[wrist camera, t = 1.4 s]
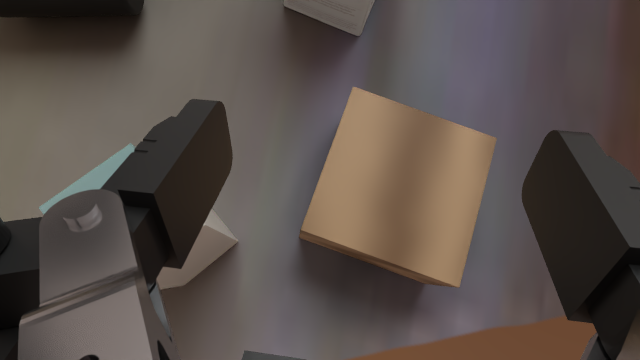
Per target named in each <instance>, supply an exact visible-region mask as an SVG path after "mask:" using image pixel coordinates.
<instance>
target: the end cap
mask: <svg viewBox="0 0 640 360" xmlns="http://www.w3.org/2000/svg"><path fill="white" fill-rule="evenodd" d="M143 4H144V0H0V17H51V16H111V15H137V14H139V13H140V12H141V10H142V8H143Z"/></svg>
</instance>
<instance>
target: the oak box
mask: <svg viewBox="0 0 640 360" xmlns="http://www.w3.org/2000/svg"><path fill="white" fill-rule="evenodd" d="M496 139H497V138H495V137H492V136H489V135H487V134H484V133H481V132H478V131H476V130H473V129H470V128H467V127H464V126H462V125H459V124H456V123H453V122H451V121H448V120H445V119H442V118H439V117H437V116H434V115H431V114H428V113H426V112H423V111H420V110H417V109H414V108H412V107H409V106H406V105H403V104H401V103H398V102H395V101H392V100H389V99H387V98H384V97H381V96H378V95H376V94H373V93H370V92H367V91H364V90H362V89H359V88H356V87H353V89H352V91H351V94H350V97H349V99H348V102H347V105H346V108H345V110H344V113H343V116H342V118H341V121H340V124H339V127H338V129H337V132H336V135H335V138H334V140H333V143H332V146H331V148H330V151H329V154H328V157H327V159H326V162H325V165H324V168H323V170H322V173H321V176H320V178H319V181H318V184H317V187H316V189H315V192H314V195H313V197H312V200H311V203H310V206H309V208H308V211H307V214H306V217H305V219H304V222H303V225H302V227H301V230H300V235H299V238H302V239H304V240H307V241H310V242H312V243H315V244H318V245H321V246H323V247H326V248H329V249H332V250H334V251H337V252H340V253H343V254H345V255H348V256H351V257H354V258H356V259H359V260H362V261H364V262H367V263H370V264H373V265H375V266H378V267H381V268H384V269H386V270H389V271H392V272H395V273H397V274H400V275H403V276H406V277H408V278H411V279H414V280H416V281H419V282H422V283H425V284H431V285H440V286H449V287H458V288H459V286H460V282H461V278H462V275H463V271H464V267H465V263H466V259H467V255H468V251H469V247H470V243H471V239H472V235H473V231H474V227H475V223H476V219H477V215H478V211H479V207H480V203H481V199H482V195H483V191H484V187H485V183H486V179H487V175H488V171H489V167H490V163H491V159H492V155H493V151H494V147H495V143H496Z"/></svg>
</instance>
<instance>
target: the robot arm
mask: <svg viewBox="0 0 640 360" xmlns="http://www.w3.org/2000/svg"><path fill="white" fill-rule="evenodd" d="M231 166H232V147H231V141H230V135H229V129H228V123H227V117H226V111H225V107H224V105H223V103H222V102H220V101H209V100H198V99H191V100H190V101H189V102H188V103H187V104H186V106H185V107H184V108H183V109H182V110H181V112H180V113H179V114H178V115H177V117H172V116H171V117H169V118H168V119H166V120H164V121H163V122H161V123H159V124H157V125H156V126H154V127H153V128H152V129H151V131H150V132H149V133H148V134H147V135H146V136H145V138H144V139H143V142H140V143H139V144H138V146H137V147H136V148H135V149H134V152H132V153H131V154H130V155H129V156H128V157H127V158H126V159H125V161H124V162H123V163H122V164H121V165H120V166H119V168H118V169H117V170H116V171H115V172H114V173H113V174H112V176H111V177H110V178H109V179H108V180H107V181H106V183H105V184H104V185H103V186H102V187H101V188H100V189H92V190H86V191H82V192H78V193H75V194H72V195H70V196H68V197H65V198H64V199H62V200H60V201H58V202H57V203H56V204H54V205H53V206H52V207H51V208H49V209H48V210H47V212H46V213H45V214H44V215H43V217H39V218H31V219H23V220H15V221H8V222H3V221H2V219H1V218H0V360H181V359H180V356H179V353H178V350H177V346H176V343H175V339H174V336H173V332H172V329H171V325H170V322H169V318H168V315H167V311H166V308H165V304H164V300H163V297H162V293H161V290H160V286H159V283H158V281H157V277H158V275H159V273H160V271H161V270H162V268H163V267H169V268H176V269H182V267H183V265H184V263H185V261H186V259H187V257H188V255H189V253H190V251H191V249H192V247H193V245H194V243H195V241H196V239H197V237H198V235H199V233H200V231H201V229H202V227H203V225H204V223H205V221H206V219H207V217H208V215H209V213H210V211H211V209H212V207H213V205H214V203H215V201H216V199H217V197H218V195H219V193H220V191H221V189H222V187H223V185H224V183H225V181H226V179H227V177H228V175H229V173H230V170H231ZM522 202H523V206H524V208H525V211H526V213H527V216H528V218H529V221H530V224H531V226H532V229H533V231H534V234H535V237H536V239H537V242H538V244H539V247H540V249H541V252H542V255H543V257H544V260H545V262H546V265H547V268H548V270H549V273H550V275H551V278H552V280H553V283H554V286H555V288H556V291H557V293H558V296H559V299H560V301H561V304H562V306H563V309H564V311H565V314H566V317H567V319H568V320H571V321H580V322H587V323H593V324H594V326H595V329H596V331H597V333H596V334H595V335H594V336H593V337H592V338H591V339H590V340H589V342H588V344H587V347H586V348H585V351H584V353H583V355H582V357H581V359H580V360H640V183H639V182H638V181H637V179H636V178H635V177H634V176H633V174H632V173H631V172H630V171H629V170H628V169H626V168H625V167H624V166H622V165H621V164H620V163H618V162H617V161H616V160H614V159H613V158H611V157H610V156H607V155H606V154H605V153H604V151H603V150H602V149H601V147H600V146H599V144H598V143H597V142H596V140H595V139H594V138H593V136H592V135H591V134H589V133H582V132H570V131H558V130H553V131H551V132H549V133H548V134H547V136H546V137H545V139H544V141H543V143H542V145H541V147H540V149H539V151H538V153H537V155H536V157H535V159H534V161H533V163H532V166H531V168H530V170H529V172H528V174H527V176H526V178H525V180H524V183H523V187H522ZM242 360H306V359H299V358H292V357H286V356H279V355H272V354H265V353H258V352H251V351H244V354H243V358H242Z"/></svg>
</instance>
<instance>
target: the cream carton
mask: <svg viewBox="0 0 640 360" xmlns="http://www.w3.org/2000/svg"><path fill="white" fill-rule="evenodd" d="M135 148H136V147H135V146H134V145H132V144H131V143H130V144H129V145H128V146H126V147H125V148H123V149H122V150H120V151H119V152H117V153H116V154H115V155H113V156H112V157H110V158H109V159H107V160H106V161H105V162H103V163H102V164H100V165H99V166H97V167H96V168H95V169H93V170H92V171H90V172H89V173H87V174H86V175H85V176H83V177H82V178H80V179H79V180H77V181H76V182H74V183H73V184H72V185H70V186H69V187H67V188H66V189H64V190H63V191H62V192H60V193H59V194H57V195H56V196H54V197H53V198H52V199H50V200H49V201H47V202H46V203H44V204H43V205H41V206H40V207H39V208H40V210H41V211H42V213H43V214H45V213H46V212H47V210H48V209H49V208H51V207H52V206H53V205H54V204H56V203H57V202H58V201H60V200H62V199H64V198H65V197H68V196H70V195H72V194H75V193H78V192H82V191H86V190H92V189H100V188H101V187H102V186H103V185H104V184H105V183H106V181H107V180H108V179H109V178H110V177H111V176H112V174H113V173H114V172H115V171H116V170H117V169H118V168H119V166H120V165H121V164H122V163H123V162H124V161H125V159H126V158H127V157H128V156H129V155H130V154H131V153H132V152H134V149H135ZM237 242H238V240H237V239H236V238H235V237H234V235H233V234H232V233H231V232H230V230H229V229H228V228H227V227H226V225H225V224H224V223H223V222H222V220H221V219H220V218H219V217H218V215H217V214H216V213H215V212H214V210H213V209H211V211H210V213H209V215H208V217H207V219H206V221H205V223H204V225H203V227H202V229H201V231H200V233H199V235H198V237H197V239H196V241H195V243H194V245H193V247H192V249H191V251H190V253H189V255H188V257H187V259H186V261H185V263H184V265H183V267H182V269H176V268H169V267H163V268H162V270H161V271H160V273H159V275H158V277H157V281H158V283H159V286H160V289H166V288H172V287H179V286H184V285H185V284H187V283H188V282H189V281H190V280H192V279H193V278H194V277H195V276H196V275H198V274H199V273H200V272H201V271H203V270H204V269H205V268H206V267H208V266H209V265H210V264H211V263H212V262H214V261H215V260H216V259H217V258H219V257H220V256H221V255H222V254H224V253H225V252H226V251H227V250H228V249H230V248H231V247H232V246H233V245H235V244H236V243H237Z"/></svg>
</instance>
